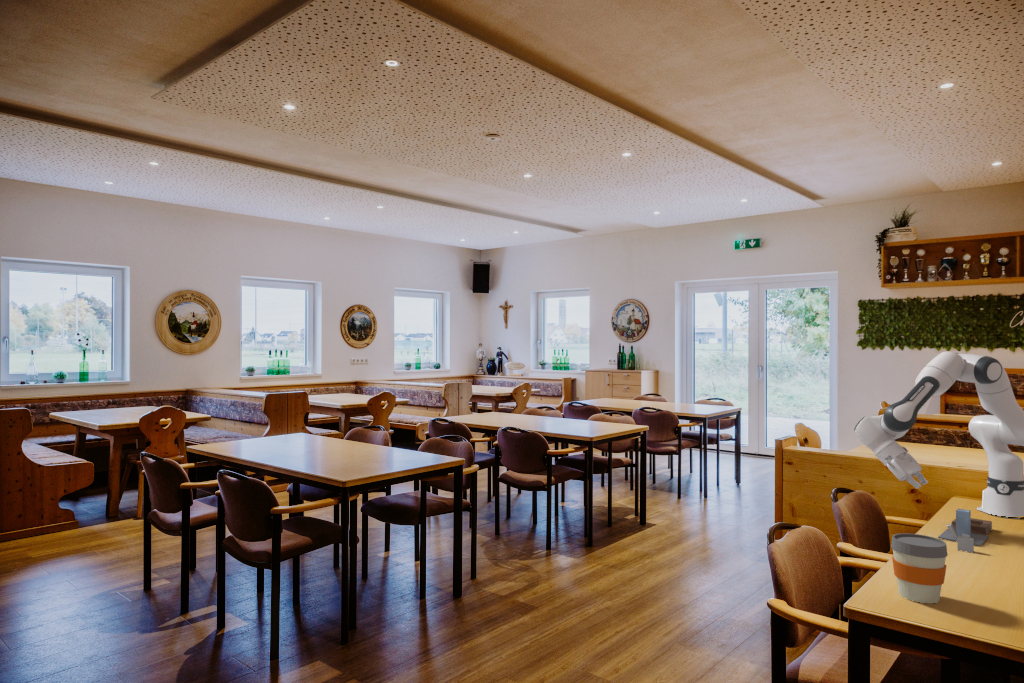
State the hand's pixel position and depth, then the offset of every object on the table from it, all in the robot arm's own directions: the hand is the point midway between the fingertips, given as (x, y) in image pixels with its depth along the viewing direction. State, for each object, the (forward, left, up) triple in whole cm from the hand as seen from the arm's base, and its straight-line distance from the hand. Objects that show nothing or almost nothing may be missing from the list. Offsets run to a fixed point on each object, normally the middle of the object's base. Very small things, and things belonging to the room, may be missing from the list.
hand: (922, 485), depth 229 cm
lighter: (+16, +14, -16) cm, 27 cm away
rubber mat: (0, +12, -16) cm, 20 cm away
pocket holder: (-15, +12, -16) cm, 25 cm away
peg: (0, +12, -16) cm, 20 cm away
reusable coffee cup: (+72, +15, -16) cm, 76 cm away
